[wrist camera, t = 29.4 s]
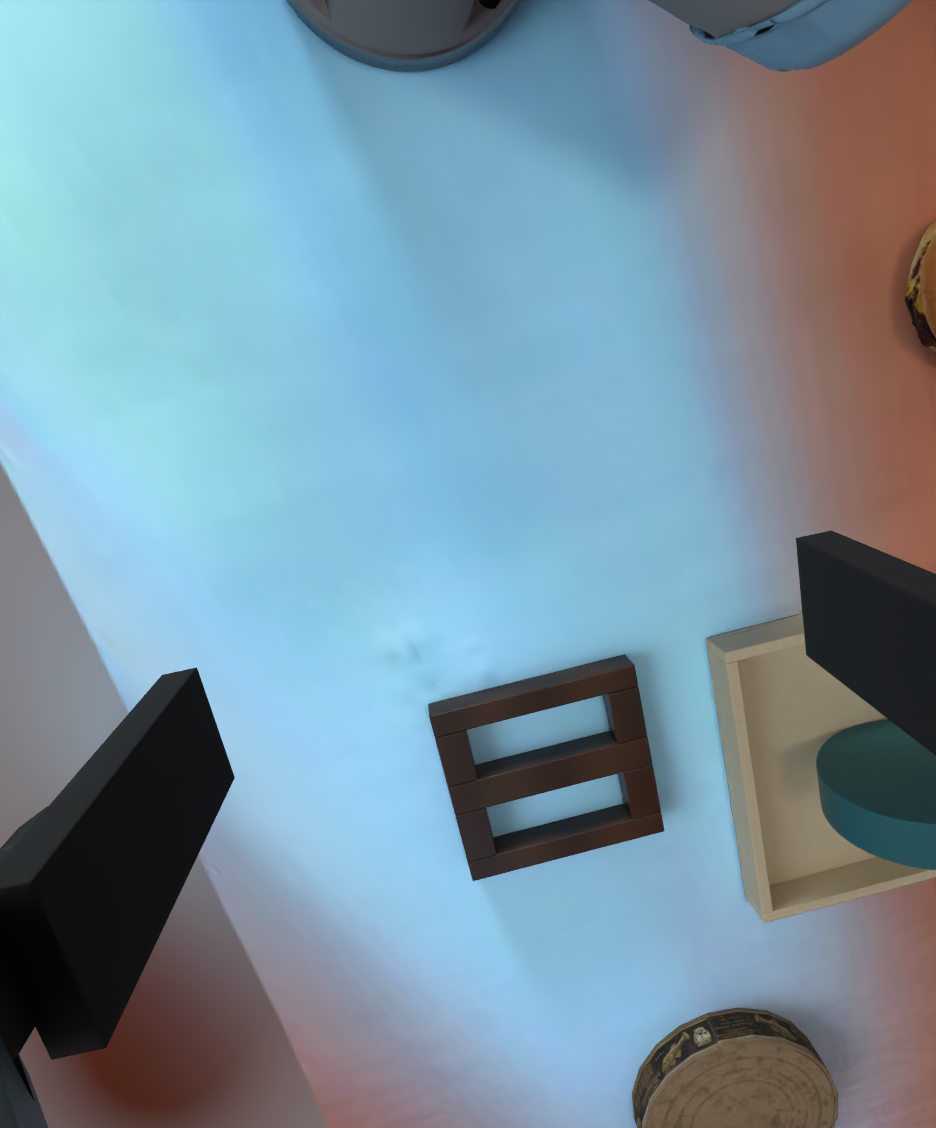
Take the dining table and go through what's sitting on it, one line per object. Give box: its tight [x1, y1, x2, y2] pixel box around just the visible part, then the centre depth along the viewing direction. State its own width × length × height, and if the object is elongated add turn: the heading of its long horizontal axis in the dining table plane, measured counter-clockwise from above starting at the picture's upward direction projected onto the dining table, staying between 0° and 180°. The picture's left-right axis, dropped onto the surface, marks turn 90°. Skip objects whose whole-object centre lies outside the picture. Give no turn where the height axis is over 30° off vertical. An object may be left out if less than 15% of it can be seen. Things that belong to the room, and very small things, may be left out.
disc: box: [816, 719, 936, 870], centre depth 46 cm, size 12×3×12 cm, turn 104°
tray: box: [706, 614, 936, 923], centre depth 51 cm, size 22×17×3 cm
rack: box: [428, 655, 664, 881], centre depth 50 cm, size 14×13×2 cm
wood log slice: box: [632, 1008, 838, 1128], centre depth 58 cm, size 16×16×3 cm
